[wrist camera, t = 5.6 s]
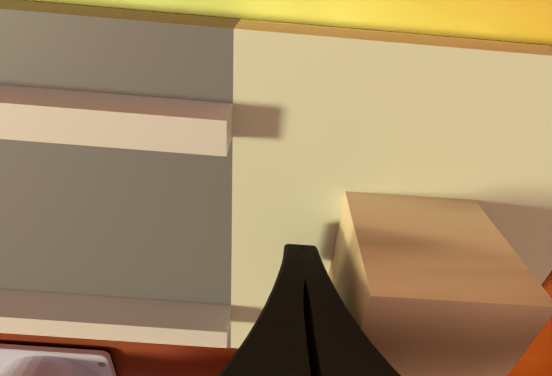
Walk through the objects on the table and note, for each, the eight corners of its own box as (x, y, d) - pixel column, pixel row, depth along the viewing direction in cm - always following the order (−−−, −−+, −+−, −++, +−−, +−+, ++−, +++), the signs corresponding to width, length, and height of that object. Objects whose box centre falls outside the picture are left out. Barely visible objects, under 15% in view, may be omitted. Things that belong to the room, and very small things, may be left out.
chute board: (469, 332, 21) (499, 393, 18) (-254, 282, 20) (-344, 337, 17) (638, 52, 13) (747, 82, 10) (-610, -54, 12) (-912, -59, 9)
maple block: (435, 288, 16) (486, 402, 12) (326, 282, 16) (340, 394, 12) (474, 199, 14) (558, 307, 9) (345, 191, 14) (370, 295, 9)
